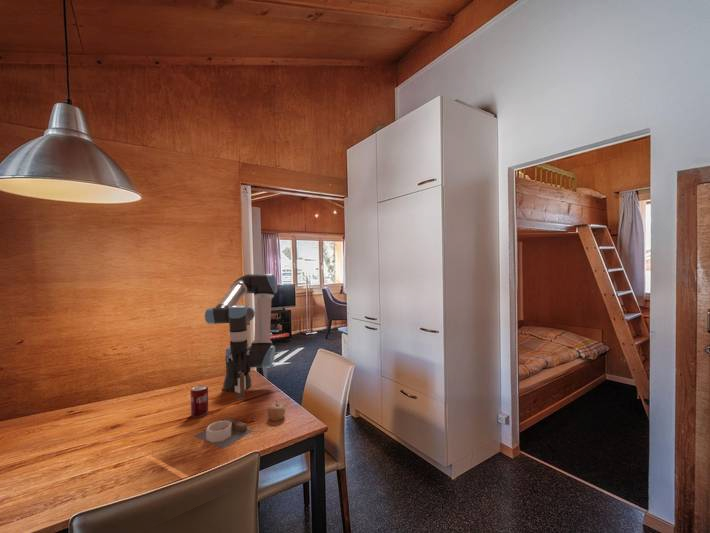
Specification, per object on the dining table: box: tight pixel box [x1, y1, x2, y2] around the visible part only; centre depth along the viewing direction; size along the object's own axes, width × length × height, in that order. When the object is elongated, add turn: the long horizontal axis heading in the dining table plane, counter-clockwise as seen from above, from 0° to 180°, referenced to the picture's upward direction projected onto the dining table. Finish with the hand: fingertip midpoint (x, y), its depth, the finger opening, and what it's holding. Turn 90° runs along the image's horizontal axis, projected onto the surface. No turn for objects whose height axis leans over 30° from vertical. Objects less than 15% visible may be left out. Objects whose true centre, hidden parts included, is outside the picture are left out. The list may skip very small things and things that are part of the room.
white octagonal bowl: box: [205, 420, 232, 442], centre depth 124 cm, size 9×9×4 cm
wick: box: [222, 416, 248, 433], centre depth 130 cm, size 12×2×2 cm, turn 59°
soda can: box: [189, 384, 209, 418], centre depth 146 cm, size 7×7×12 cm
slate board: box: [194, 428, 254, 449], centre depth 126 cm, size 14×18×1 cm
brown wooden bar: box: [235, 371, 246, 401], centre depth 145 cm, size 2×2×12 cm
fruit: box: [267, 400, 286, 422], centre depth 138 cm, size 8×7×8 cm
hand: (240, 390), depth 145 cm, fingers closed on brown wooden bar, 2 cm apart
